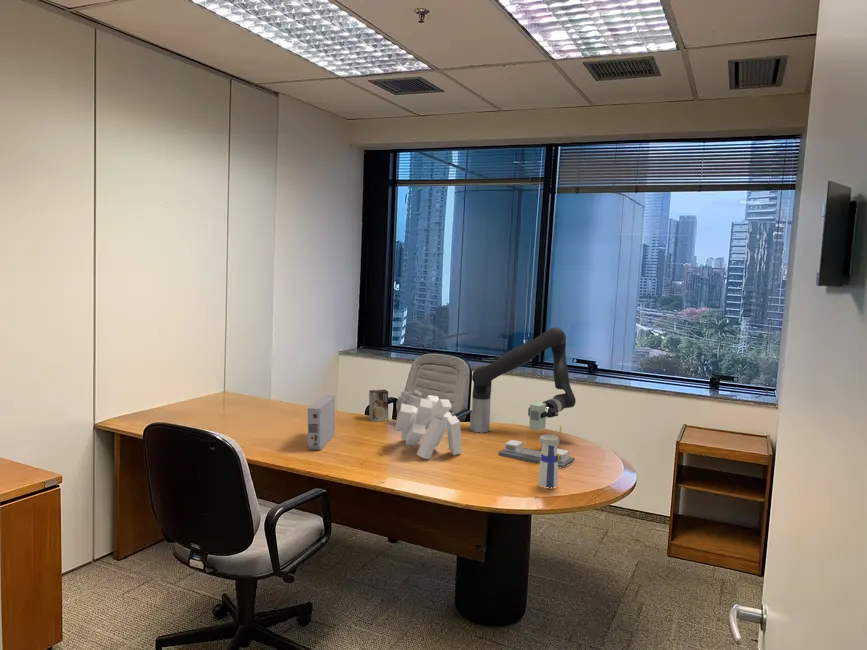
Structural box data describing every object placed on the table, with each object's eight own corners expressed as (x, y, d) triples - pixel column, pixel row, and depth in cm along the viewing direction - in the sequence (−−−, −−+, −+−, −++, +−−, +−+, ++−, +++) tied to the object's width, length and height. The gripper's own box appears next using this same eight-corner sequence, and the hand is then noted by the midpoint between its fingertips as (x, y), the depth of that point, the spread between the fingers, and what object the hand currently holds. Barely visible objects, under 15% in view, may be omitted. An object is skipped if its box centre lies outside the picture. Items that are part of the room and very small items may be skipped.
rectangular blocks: (504, 449, 286) (504, 443, 286) (511, 446, 293) (511, 439, 292) (562, 461, 271) (562, 455, 271) (568, 457, 277) (569, 450, 277)
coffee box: (384, 417, 348) (385, 389, 346) (388, 420, 342) (388, 391, 340) (368, 419, 344) (369, 390, 342) (372, 421, 338) (372, 392, 337)
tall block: (529, 429, 279) (529, 404, 278) (535, 425, 285) (535, 402, 283) (539, 430, 277) (540, 406, 275) (545, 427, 282) (546, 403, 281)
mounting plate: (503, 450, 287) (503, 449, 287) (510, 447, 293) (510, 445, 293) (563, 463, 271) (563, 461, 271) (569, 459, 277) (570, 457, 277)
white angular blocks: (376, 460, 292) (378, 403, 272) (409, 423, 314) (413, 367, 294) (441, 492, 279) (448, 435, 259) (472, 451, 301) (480, 396, 281)
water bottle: (556, 481, 253) (558, 420, 251) (561, 489, 245) (563, 426, 242) (535, 481, 253) (538, 420, 250) (540, 489, 245) (542, 426, 242)
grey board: (498, 455, 285) (498, 452, 285) (511, 448, 296) (511, 445, 296) (563, 469, 268) (563, 465, 268) (574, 461, 279) (574, 457, 279)
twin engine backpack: (434, 434, 328) (443, 397, 328) (402, 429, 320) (411, 391, 320) (420, 426, 344) (429, 390, 344) (389, 421, 336) (398, 384, 336)
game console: (335, 435, 313) (335, 395, 311) (320, 451, 286) (320, 408, 284) (324, 434, 313) (324, 395, 311) (307, 451, 286) (307, 408, 284)
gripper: (536, 397, 295) (520, 404, 281) (565, 401, 287) (550, 409, 273) (536, 413, 296) (520, 421, 282) (565, 417, 288) (550, 426, 274)
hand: (535, 415), depth 278 cm, fingers closed on tall block, 5 cm apart
